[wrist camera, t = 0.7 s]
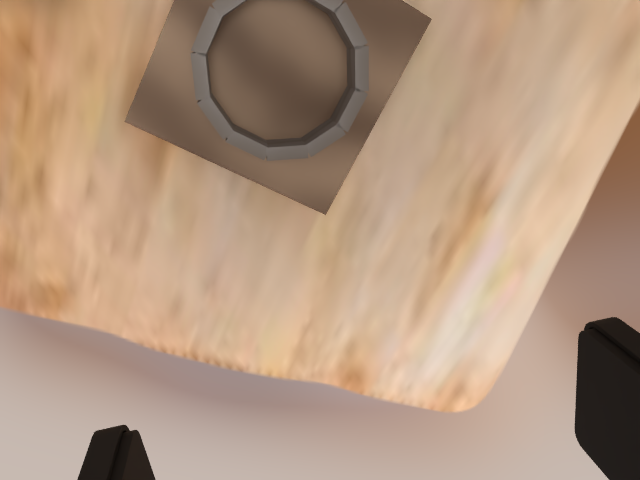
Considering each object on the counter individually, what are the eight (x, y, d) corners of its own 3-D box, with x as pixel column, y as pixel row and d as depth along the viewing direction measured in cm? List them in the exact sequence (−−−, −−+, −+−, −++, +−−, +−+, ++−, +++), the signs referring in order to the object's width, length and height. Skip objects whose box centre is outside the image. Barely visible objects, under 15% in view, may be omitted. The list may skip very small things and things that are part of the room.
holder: (221, -109, 30) (219, -126, 27) (426, 19, 34) (446, 18, 31) (127, 119, 33) (116, 128, 30) (323, 210, 37) (331, 227, 34)
